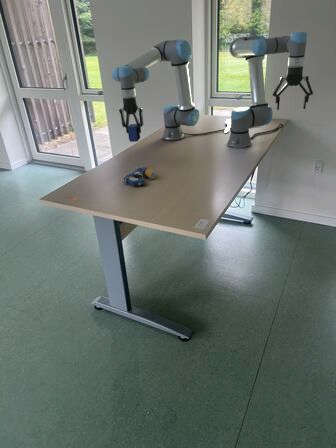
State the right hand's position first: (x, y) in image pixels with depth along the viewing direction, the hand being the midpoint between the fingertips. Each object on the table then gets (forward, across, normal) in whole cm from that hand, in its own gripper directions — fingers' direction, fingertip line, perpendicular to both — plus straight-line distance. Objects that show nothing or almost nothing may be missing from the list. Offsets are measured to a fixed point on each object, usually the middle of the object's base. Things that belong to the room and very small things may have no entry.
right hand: (290, 109), depth 182 cm
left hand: (+11, -87, -12) cm, 89 cm away
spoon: (+28, -35, +70) cm, 83 cm away
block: (+12, -87, -12) cm, 89 cm away
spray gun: (+28, -80, -32) cm, 91 cm away
